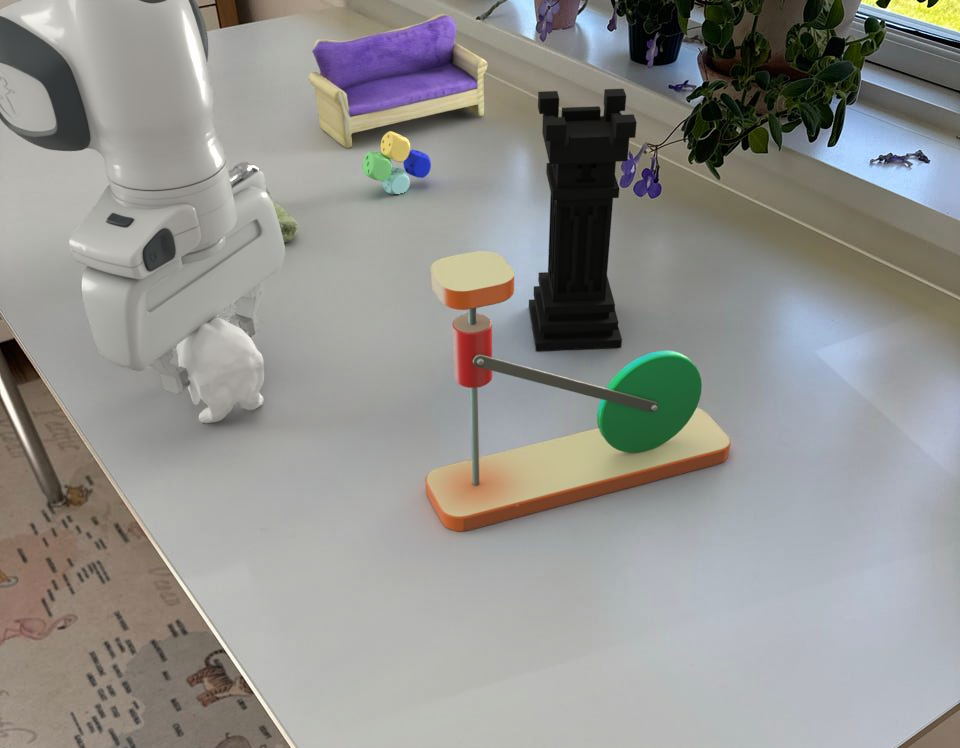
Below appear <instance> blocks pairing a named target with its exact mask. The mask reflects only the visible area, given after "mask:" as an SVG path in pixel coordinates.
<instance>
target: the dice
mask: <svg viewBox="0 0 960 748" xmlns="http://www.w3.org/2000/svg"><path fill="white" fill-rule="evenodd" d="M380 151H381V152H379V151H375V150H369V151H368V152H367V153H366V154H365V155H364V157H363V159H362V166H361V167H362V171H363V174H364V175H365V176H366V177H368V178H369V179H372V180H375V181H379V182H381V185H382V187H383V190H384V191H385V192H386V193H387V194H389V193H390V194H389V195H393V194H399V195H401V194H400V193H403V194H405V193H406V192H407V191H408V190H409V188H410V185H411V184H410V182H411V181H410V177H409V176H413V177H415V178H418V179H419V178H420V179H424V178H426V177H427V176H428V175H429V173H430V171H431V167H432V162H431V159H430V156H429V155H428V154H426V153H425V152H422V151H420V150H416V149H411V143H410V141H409V139H408V138H406V137H405V136H403V135H402V134H399V133H397V132H394V131H391V130H389V131H388V132H386V133H385V134H384V135H382V138H381V141H380ZM391 160H392V161H394V162H397V163H402V162H403V168H402V167H400V166H399V167H398V166H393V164H392V161H391ZM404 192H405V193H404Z"/></svg>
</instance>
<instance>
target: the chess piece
mask: <svg viewBox="0 0 960 748" xmlns="http://www.w3.org/2000/svg"><path fill="white" fill-rule="evenodd" d="M603 91H604V93H603V115H601V111H602V110H601V107H600V106H597V105H596V106H595V105H594V106H574V107H573V106H571V107H569V106H568V107H567V106H566V107H562V108H561V116H559V113H560V96H559V93H558V90H549V91H548V90H547V91H546V90H544V91H538V92H537V108H538V114H539V115H542V127H541V128H542V131H541V133H542V139H543V142H544V146H545V151H546V154H547V159H548V162H546V169H545V172H546V173H545V174H546V177H547V181H548V187H549V191H550V201H549V229H548V230H549V231H548V259H547V260H548V261H547V271H545V272H544V271H543V272H542V271H541V272H538V279H537V281H538V285H534V286H533V293H532V294H533V299H532V298H531V299H528V311H529V317H530V323H531V324H530V325H531V329H532V337H533V344H534V349H535V352H550V351H571V350H572V351H573V350H596V349H597V350H598V349H619V348H621V349H622V345H623V344H622V343H623V338H622V335H621V331H620V327H619V322H620V321H619V319H618V314H617V311H616V303H615V300H614V296H613V292H612V288H611V285H610V281H609V278H608V277H609V276H608V267H609V256H610V255H609V254H610V244H611V243H610V242H611V230H612V218H613V217H612V216H613V206H614V205H613V204H614V199H619V197H620V185H619V183H618V180H617V177H616V165H617V162H619V163H620V162H628V159H629V146H630V139H635V138H636V135H637V123H638V122H637V119H636V117H635V114H631V113H630V114H622V112H626V103H627V94H626V92H625V88H604V90H603Z"/></svg>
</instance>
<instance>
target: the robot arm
mask: <svg viewBox="0 0 960 748" xmlns="http://www.w3.org/2000/svg"><path fill="white" fill-rule="evenodd" d="M208 61H209V37H208V31H207V26H206V23H205V18H204V16H203V14H202V11H201V9H200V6H199V5H198V3H197V1H196V0H18V1H16V2H14V3H12V4H9V5H6V6H5V7H3V8H1V9H0V121H1V122H2V124H4V125H5V126H6V127H7V128H8V129H9V130H10V131H11V132H13V133H14V134H15V135H17V136H18V137H20V138H22V139H23V140H24V141H27V142H28V143H31V144H32V145H34V146H37V147H39V148H42V149H46V150H49V151H57V152H59V151H60V152H78V151H83V150H85V149H89V150H94V151H96V152H98V153H99V154H100V155H101V157H102V158H103V161H104V164H105V165H104V166H105V170H106V171H105V172H106V177H107V181H108V185H107V186H106V187H105V188H104V190H103V191H102V193H101V194H100V197H99V198H98V200H97V201H96V203H95V204H94V206H92V209H91V210H90V211H89V212H88V214H87V215H86V216H85V217H84V219H83V220H82V221H81V222H80V223H79V224H78V226H77V227H75V229H74V231H73V232H72V233H71V235H70V236H69V241H68V245H69V250H70V253H71V255H72V258H73V259H74V260H75V262H77V263H80V264H81V265H84V266H86V267H85V269H84V271H83V273H82V276H81V286H80V287H81V296H82V301H83V305H84V309H85V314H86V318H87V322H88V325H89V328H90V331H91V335H92V338H93V341H94V344H95V346H96V349H97V351H98V354H100V356H101V357H102V358H103V359H105V360H106V361H108V362H109V363H112V364H113V365H116V366H118V367H122V368H124V369H128V370H132V371H135V372H141V371H144V370H145V369H147V368H148V367H149V366H150V367H151V368H152V369H153V370H155V371H156V372H157V373H158V374H159V378H160V380H161V384H162V387H163V388H164V390H165V391H167V392H168V393H171V394H175V395H179V394H180V393H181V392H183V391H184V390H186V389H188V386H189V385H190V380H189V379H188V372H187V370H186V368H183V367H178V365H177V364H174V363H172V362H171V360H173V359H174V357H175V356H174V352H173V348H176V347H177V344H179V343H180V342H181V341H183V340H184V339H185V338H187V337H188V336H190V335H191V334H192V333H194V332H195V331H196V330H198V329H199V328H200V327H201V326H202V325H203V324H206V323H207V322H209V321H210V320H211V319H213V318H214V317H218V315H220V314H221V313H222V312H223V311H225V310H226V309H227V308H229V307H231V306H232V305H233V304H234V303H235V311H234V315H232V316H231V317H230V318H229V323H231V324H233V325H235V326H237V327H239V328H241V329H242V330H243V331H244V332H245V333H246V334H247V335H248V336H249V337H250V338H252V337H253V336H255V335H256V334H257V333H258V332H259V325H258V321H257V314H258V310H259V305H260V300H261V296H262V290H261V283H263V282H264V281H266V280H267V279H268V278H270V277H271V276H272V275H274V274H275V273H277V272H278V271H280V270H281V269H282V268H283V266H284V262H285V259H286V246H285V242H284V241H283V236H282V232H281V228H280V224H279V221H278V217H277V214H276V211H275V208H274V205H273V203H274V201H273V199H272V200H271V198H272V197H271V198H270V196H271V195H270V196H269V195H268V193H267V190H266V188H267V185H266V177H265V174H264V172H263V171H262V170H260V168H259V167H258V166H257V165H255V164H252V163H249V162H248V161H243V162H239V163H238V164H236V165H235V166H234V167H233V168H232V169H231V170H229V168H228V163H227V157H226V154H225V153H226V152H225V150H224V147H223V144H222V143H221V141H220V139H219V137H218V135H217V132H216V129H215V123H214V106H215V96H214V90H213V85H212V80H211V75H210V71H209V70H210V69H209V66H208V65H209V64H208ZM272 201H273V202H272Z"/></svg>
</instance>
